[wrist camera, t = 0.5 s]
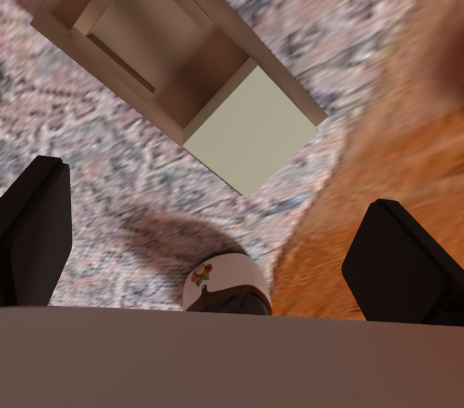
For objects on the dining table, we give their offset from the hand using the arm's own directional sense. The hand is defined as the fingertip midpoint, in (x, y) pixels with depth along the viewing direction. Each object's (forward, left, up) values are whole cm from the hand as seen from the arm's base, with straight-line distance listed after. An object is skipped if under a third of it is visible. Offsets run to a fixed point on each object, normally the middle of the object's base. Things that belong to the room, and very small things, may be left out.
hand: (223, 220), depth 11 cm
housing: (+1, 0, -26) cm, 26 cm away
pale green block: (+1, +7, -24) cm, 25 cm away
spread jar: (+19, +21, -26) cm, 38 cm away
